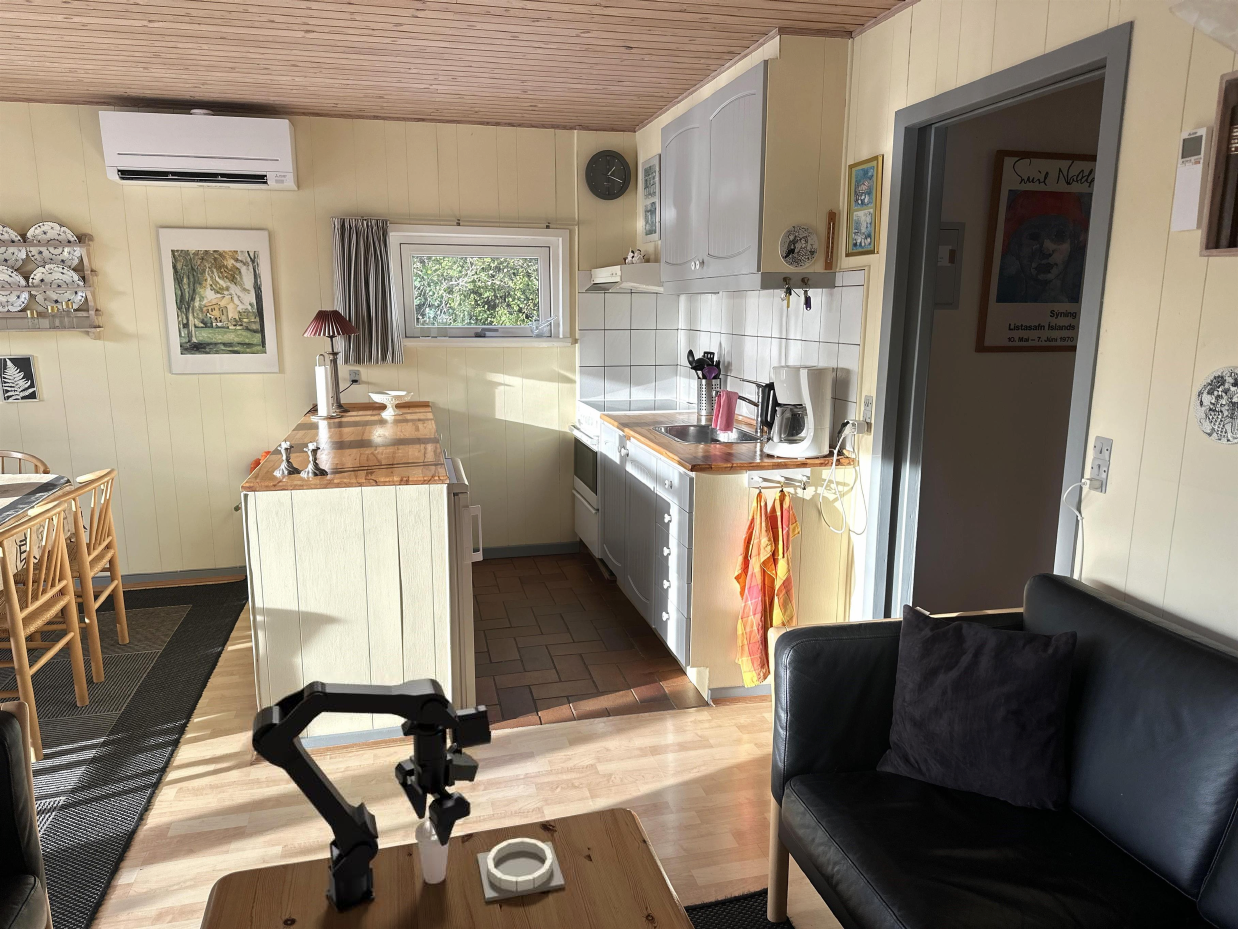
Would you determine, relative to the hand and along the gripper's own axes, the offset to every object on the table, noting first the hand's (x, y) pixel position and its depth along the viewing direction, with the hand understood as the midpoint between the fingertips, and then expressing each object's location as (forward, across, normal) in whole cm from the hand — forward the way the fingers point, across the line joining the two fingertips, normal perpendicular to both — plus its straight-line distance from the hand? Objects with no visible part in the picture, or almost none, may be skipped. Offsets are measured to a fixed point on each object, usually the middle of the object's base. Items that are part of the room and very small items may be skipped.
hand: (432, 831), depth 153 cm
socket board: (+9, -8, -13) cm, 18 cm away
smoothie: (+10, 0, 0) cm, 10 cm away
